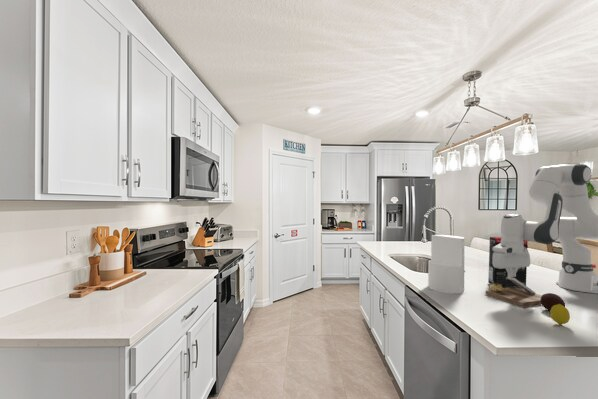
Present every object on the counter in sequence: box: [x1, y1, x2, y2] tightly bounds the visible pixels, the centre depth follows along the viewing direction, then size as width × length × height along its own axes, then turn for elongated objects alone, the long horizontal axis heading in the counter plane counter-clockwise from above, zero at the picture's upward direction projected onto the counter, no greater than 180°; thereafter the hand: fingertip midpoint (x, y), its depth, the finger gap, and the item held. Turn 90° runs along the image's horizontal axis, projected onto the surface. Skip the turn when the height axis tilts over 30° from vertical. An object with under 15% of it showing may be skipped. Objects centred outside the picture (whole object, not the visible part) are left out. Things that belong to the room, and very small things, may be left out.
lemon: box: [549, 304, 571, 326], centre depth 109 cm, size 6×6×8 cm
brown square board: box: [485, 287, 543, 308], centre depth 139 cm, size 20×18×2 cm
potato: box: [540, 292, 566, 312], centre depth 123 cm, size 8×9×8 cm
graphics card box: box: [487, 236, 529, 288], centre depth 160 cm, size 17×7×27 cm, turn 84°
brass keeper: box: [489, 283, 509, 292], centre depth 143 cm, size 4×6×3 cm, turn 17°
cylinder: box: [427, 234, 465, 295], centre depth 154 cm, size 17×17×28 cm
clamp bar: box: [507, 277, 536, 294], centre depth 139 cm, size 16×3×1 cm, turn 107°
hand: (511, 276), depth 137 cm, fingers closed
